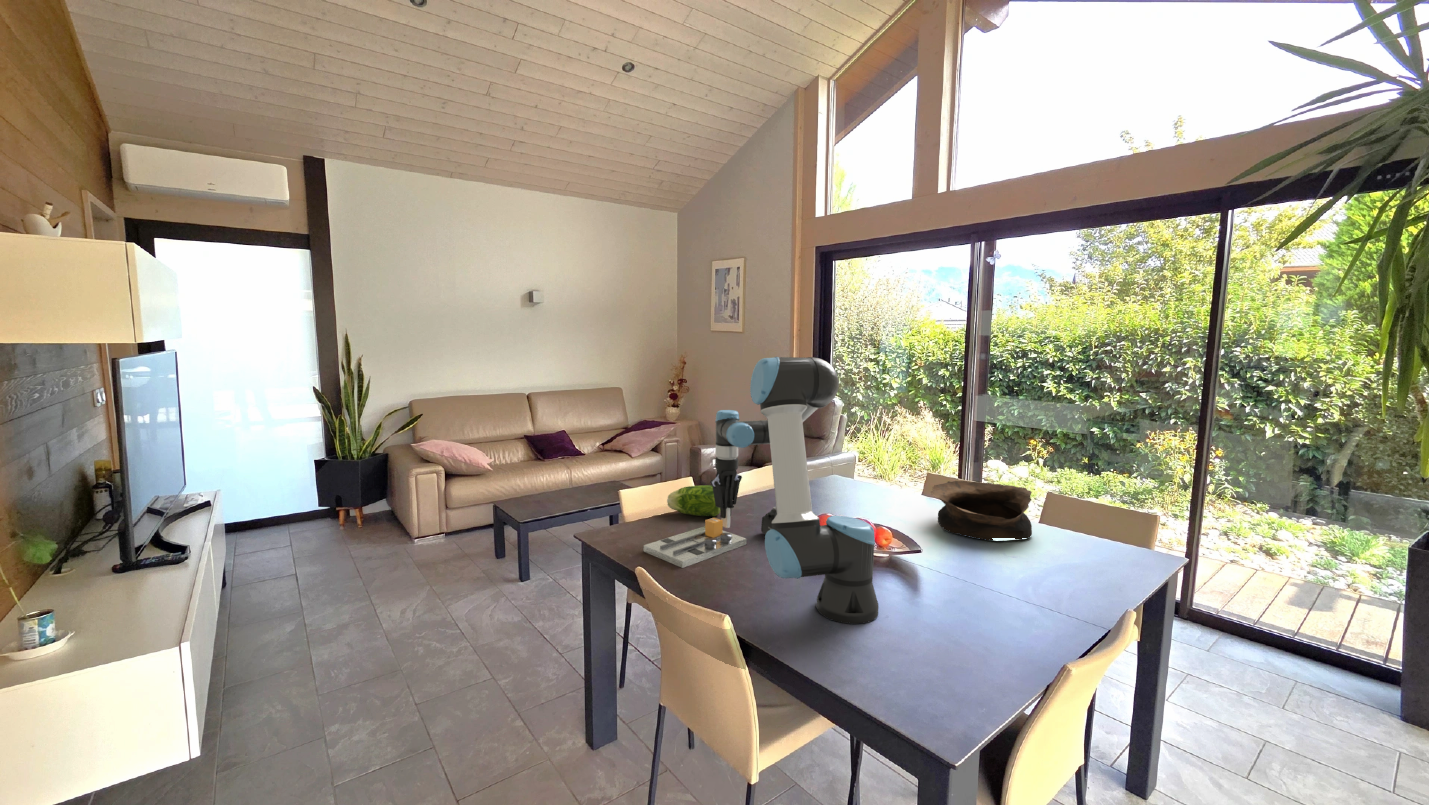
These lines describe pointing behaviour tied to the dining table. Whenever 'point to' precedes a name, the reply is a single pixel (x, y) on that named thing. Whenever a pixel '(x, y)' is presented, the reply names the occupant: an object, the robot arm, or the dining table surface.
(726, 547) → the console
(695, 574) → the dining table surface
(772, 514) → the camera
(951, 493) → the bowl
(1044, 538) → the dining table surface
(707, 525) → the fader
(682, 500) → the lettuce
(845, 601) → the robot arm
